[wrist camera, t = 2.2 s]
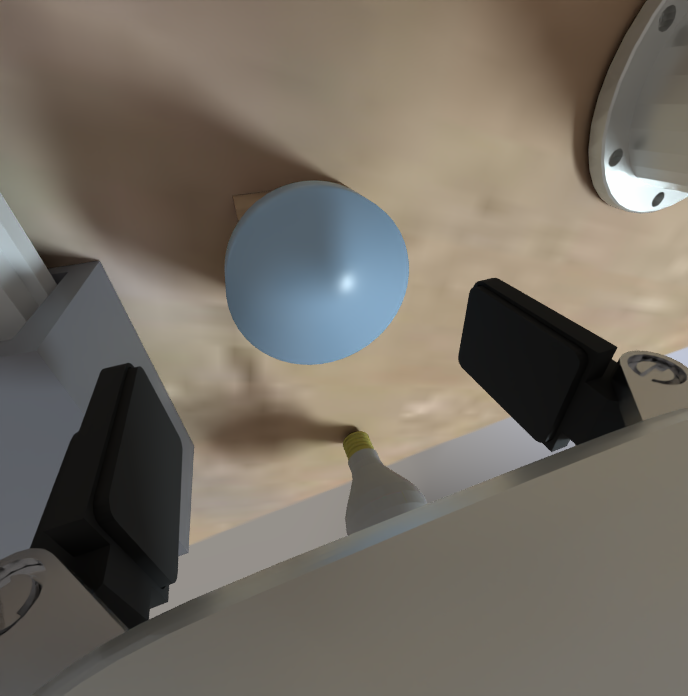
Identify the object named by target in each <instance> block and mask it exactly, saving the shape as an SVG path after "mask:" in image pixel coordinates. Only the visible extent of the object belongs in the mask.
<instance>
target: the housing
mask: <svg viewBox="0 0 688 696" xmlns="http://www.w3.org/2000/svg"><path fill="white" fill-rule="evenodd" d="M48 271H49V272H50V274H51V276H52V277H53V279H54V280H55V282H56V284H57V286H56V287H55V288H54V289H53V291H52V292H51V293H50V294H49V295H48V297H47V298H46V299H45V300H44V301H43V303H42V304H41V305H40V306H39V307H38V309H37V310H36V311H35V312H34V313H33V315H32V316H31V317H30V318H29V319H28V320H27V322H26V323H25V324H24V325H23V326H22V328H21V329H20V330H19V331H18V332H17V334H16V335H15V336H14V337H13V338H12V339H10V340H5V341H0V560H1V559H3V558H5V557H7V556H9V555H11V554H13V553H15V552H19V551H23V550H26V549H30V546H31V544H32V541H33V538H34V536H35V533H36V530H37V528H38V525H39V522H40V520H41V517H42V514H43V512H44V509H45V506H46V504H47V501H48V499H49V496H50V493H51V491H52V488H53V485H54V483H55V480H56V477H57V475H58V472H59V469H60V467H61V464H62V461H63V459H64V456H65V454H66V451H67V448H68V446H69V443H70V440H71V439H72V437H73V435H74V434H75V433H77V432H78V431H79V429H80V427H81V424H82V421H83V418H84V416H85V413H86V410H87V407H88V405H89V402H90V399H91V396H92V394H93V391H94V388H95V385H96V382H97V380H98V377H99V374H100V372H101V370H102V369H104V368H108V367H112V366H116V365H121V364H125V363H131V364H132V365H133V366H134V367H138V366H141V367H142V368H143V369H144V371H145V373H146V375H147V376H148V378H149V380H150V382H151V384H152V386H153V388H154V390H155V392H156V393H157V395H158V397H159V399H160V401H161V403H162V405H163V407H164V408H165V410H166V412H167V414H168V416H169V418H170V420H171V422H172V424H173V425H174V427H175V429H176V431H177V433H178V435H179V437H180V439H181V443H182V448H183V453H182V478H181V502H180V526H179V550H178V556H180V555H183V554H186V553H188V550H189V531H190V513H191V494H192V476H193V457H194V445H193V443H192V441H191V439H190V437H189V435H188V433H187V431H186V429H185V427H184V425H183V423H182V421H181V419H180V417H179V415H178V413H177V411H176V409H175V407H174V405H173V403H172V401H171V399H170V398H169V396H168V394H167V392H166V390H165V388H164V386H163V384H162V382H161V380H160V378H159V376H158V374H157V372H156V370H155V368H154V366H153V364H152V362H151V360H150V358H149V356H148V354H147V352H146V351H145V349H144V347H143V345H142V343H141V341H140V339H139V337H138V335H137V333H136V331H135V329H134V327H133V325H132V323H131V321H130V319H129V317H128V315H127V313H126V311H125V309H124V307H123V305H122V303H121V302H120V300H119V298H118V296H117V294H116V292H115V290H114V288H113V286H112V284H111V282H110V280H109V278H108V276H107V274H106V272H105V270H104V268H103V266H102V264H101V262H100V261H94V262H88V263H82V264H75V265H69V266H62V267H56V268H49V269H48Z"/></svg>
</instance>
